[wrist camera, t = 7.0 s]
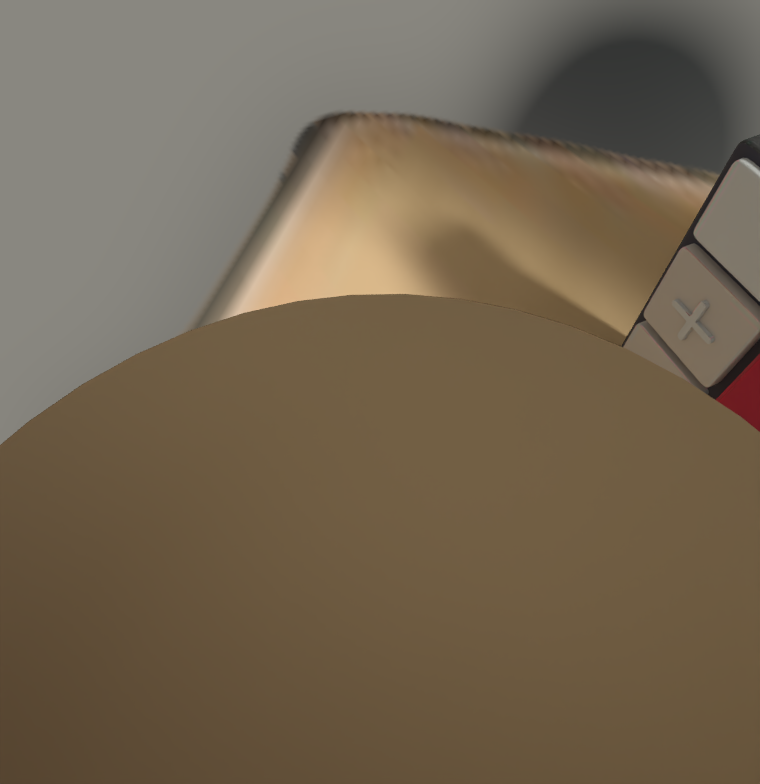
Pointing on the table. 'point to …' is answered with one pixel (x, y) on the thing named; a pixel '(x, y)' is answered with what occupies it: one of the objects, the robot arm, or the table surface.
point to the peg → (381, 560)
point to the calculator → (713, 294)
